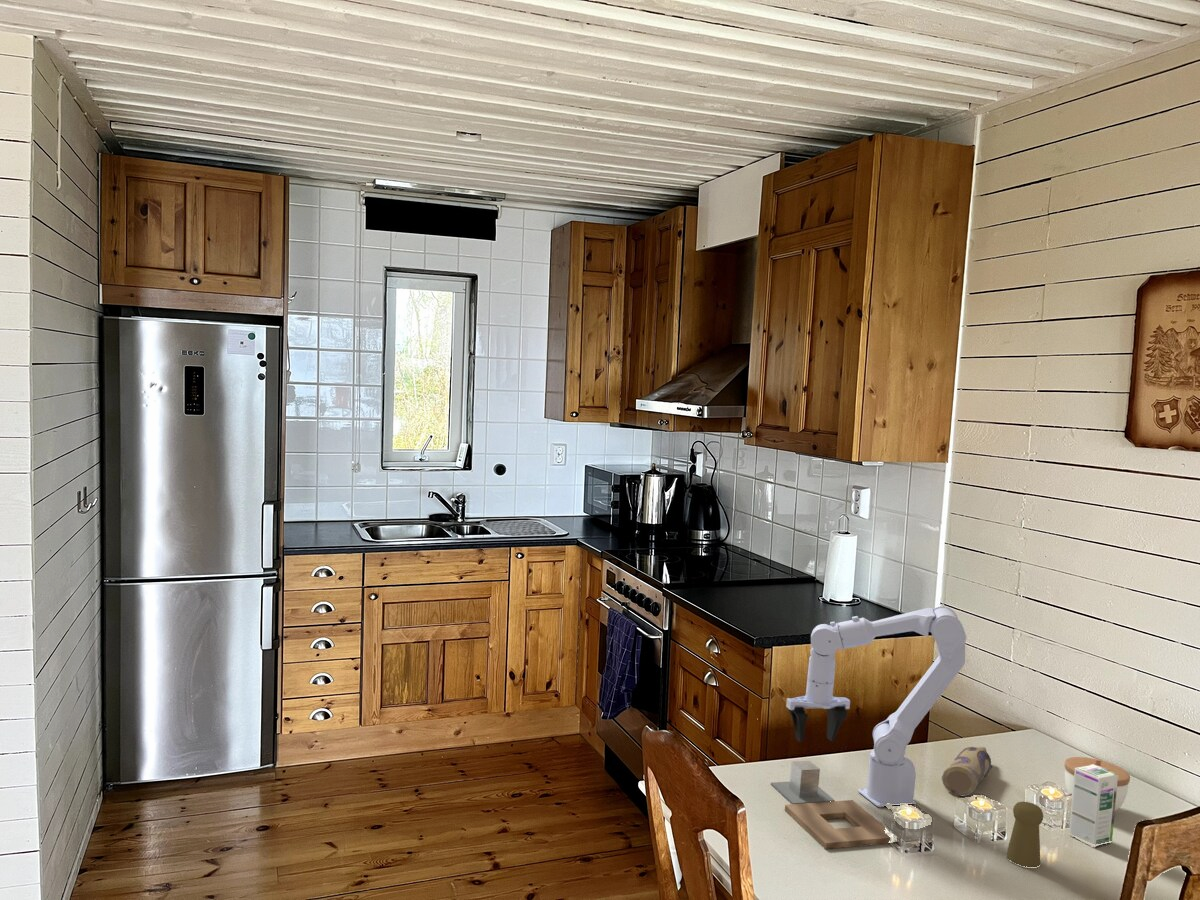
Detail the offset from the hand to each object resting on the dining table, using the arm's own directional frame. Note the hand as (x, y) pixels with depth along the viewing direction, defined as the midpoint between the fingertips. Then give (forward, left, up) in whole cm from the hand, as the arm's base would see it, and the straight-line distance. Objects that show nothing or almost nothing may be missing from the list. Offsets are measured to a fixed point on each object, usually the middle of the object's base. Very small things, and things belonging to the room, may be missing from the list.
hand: (814, 740), depth 199 cm
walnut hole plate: (+4, +18, -10) cm, 21 cm away
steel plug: (+4, +4, -10) cm, 11 cm away
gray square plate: (+4, +3, -10) cm, 12 cm away
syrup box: (-46, +31, -11) cm, 57 cm away
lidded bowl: (-59, +19, -11) cm, 63 cm away
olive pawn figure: (-25, +36, -11) cm, 45 cm away
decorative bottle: (-41, +2, -11) cm, 43 cm away
